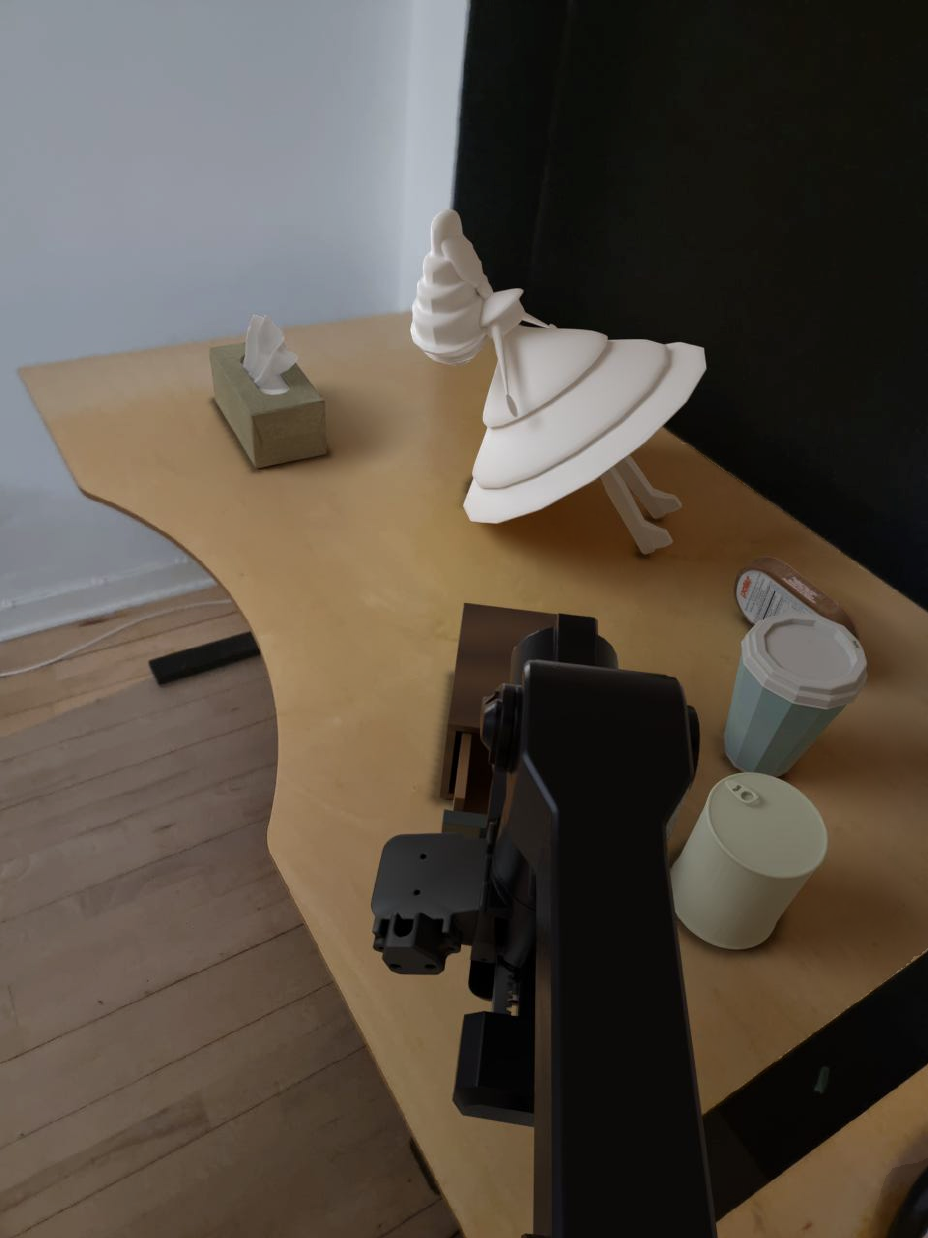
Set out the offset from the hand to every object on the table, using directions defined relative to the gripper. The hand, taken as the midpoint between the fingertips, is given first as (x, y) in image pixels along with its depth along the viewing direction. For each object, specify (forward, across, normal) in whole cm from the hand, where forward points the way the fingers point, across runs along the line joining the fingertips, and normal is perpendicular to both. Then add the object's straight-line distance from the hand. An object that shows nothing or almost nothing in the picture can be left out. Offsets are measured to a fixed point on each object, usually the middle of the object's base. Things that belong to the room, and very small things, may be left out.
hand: (512, 985), depth 52 cm
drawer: (+13, -17, 0) cm, 21 cm away
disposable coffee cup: (+14, -32, +23) cm, 42 cm away
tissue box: (+15, -76, -38) cm, 87 cm away
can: (+14, -15, +18) cm, 27 cm away
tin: (+14, -48, +28) cm, 57 cm away
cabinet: (+14, -28, -1) cm, 31 cm away
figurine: (+15, -68, -1) cm, 69 cm away
